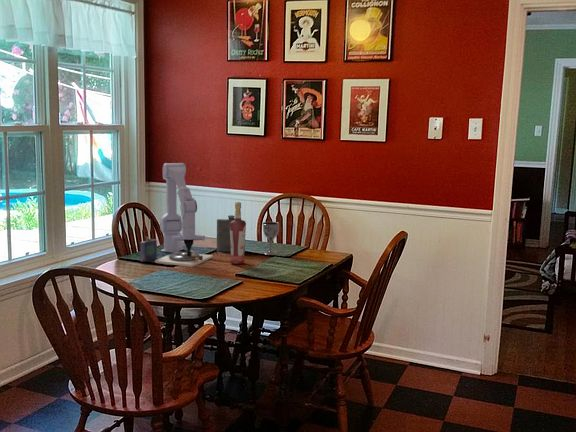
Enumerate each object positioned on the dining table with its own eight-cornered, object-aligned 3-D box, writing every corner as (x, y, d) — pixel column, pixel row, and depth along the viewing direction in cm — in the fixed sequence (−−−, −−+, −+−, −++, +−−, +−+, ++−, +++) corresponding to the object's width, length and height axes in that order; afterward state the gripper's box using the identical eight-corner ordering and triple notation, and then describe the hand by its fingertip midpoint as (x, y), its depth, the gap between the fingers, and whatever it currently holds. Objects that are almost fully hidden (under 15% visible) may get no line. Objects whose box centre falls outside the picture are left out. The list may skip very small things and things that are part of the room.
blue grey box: (143, 262, 276) (142, 238, 274) (138, 261, 277) (138, 238, 275) (158, 258, 283) (157, 235, 281) (153, 257, 285) (153, 235, 283)
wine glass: (279, 251, 303) (280, 222, 300) (277, 255, 295) (278, 224, 292) (263, 251, 303) (264, 221, 301) (261, 254, 296) (261, 224, 293)
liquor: (243, 266, 273) (243, 204, 268) (227, 265, 274) (227, 203, 269) (247, 262, 280) (248, 202, 275) (232, 261, 281) (232, 201, 276)
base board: (177, 253, 294) (177, 248, 293) (212, 257, 288) (212, 252, 287) (154, 262, 275) (154, 256, 275) (192, 267, 269) (192, 261, 269)
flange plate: (162, 257, 280) (162, 249, 280) (185, 252, 291) (185, 244, 290) (185, 263, 270) (185, 254, 270) (209, 257, 281) (209, 249, 280)
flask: (218, 249, 304) (218, 214, 301) (245, 251, 301) (246, 215, 298) (215, 251, 300) (216, 215, 297) (243, 253, 298) (244, 217, 295)
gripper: (172, 228, 269) (172, 258, 271) (205, 228, 272) (205, 257, 274) (171, 225, 275) (172, 254, 278) (204, 225, 279) (204, 254, 281)
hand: (188, 256), depth 276 cm, fingers closed, pressing on flange plate
